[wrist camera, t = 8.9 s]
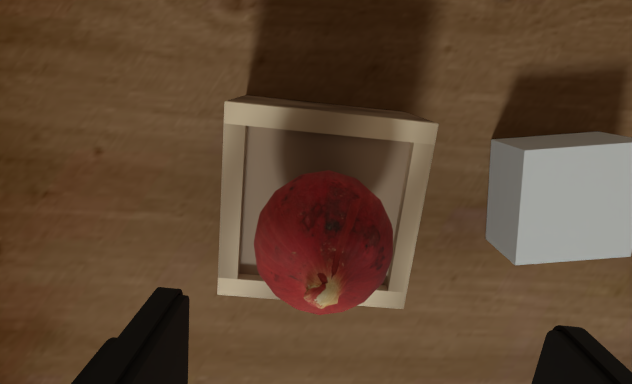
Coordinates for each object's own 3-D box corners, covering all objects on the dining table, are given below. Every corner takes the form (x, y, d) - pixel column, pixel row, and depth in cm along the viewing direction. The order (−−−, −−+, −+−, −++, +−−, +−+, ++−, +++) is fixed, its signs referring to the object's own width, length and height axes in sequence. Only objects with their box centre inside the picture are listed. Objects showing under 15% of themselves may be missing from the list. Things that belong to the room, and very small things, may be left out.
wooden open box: (404, 111, 25) (438, 123, 18) (380, 255, 27) (403, 308, 21) (245, 95, 24) (224, 101, 18) (238, 243, 27) (217, 294, 21)
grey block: (598, 131, 25) (650, 141, 21) (584, 231, 27) (630, 256, 23) (491, 139, 25) (524, 150, 21) (485, 238, 27) (515, 265, 23)
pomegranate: (280, 142, 19) (259, 185, 11) (392, 173, 19) (445, 234, 12) (254, 248, 21) (219, 349, 13) (358, 274, 21) (385, 386, 13)
